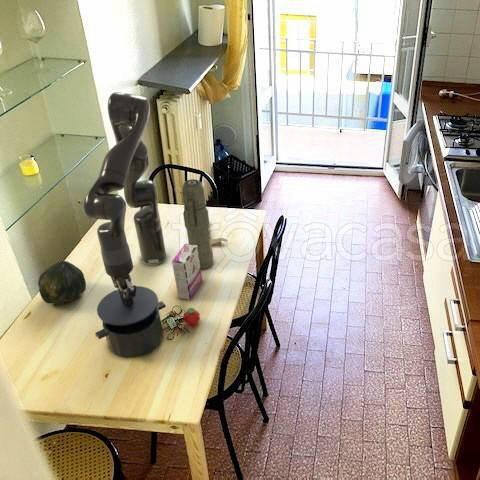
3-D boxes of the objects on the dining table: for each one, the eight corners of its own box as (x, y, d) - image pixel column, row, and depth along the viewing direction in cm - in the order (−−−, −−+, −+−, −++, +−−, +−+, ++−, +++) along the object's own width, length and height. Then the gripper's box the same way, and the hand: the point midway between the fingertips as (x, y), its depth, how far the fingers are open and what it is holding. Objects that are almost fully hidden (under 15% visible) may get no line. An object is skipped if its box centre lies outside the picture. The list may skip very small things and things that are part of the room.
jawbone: (208, 252, 205) (207, 247, 204) (189, 229, 220) (188, 225, 219) (228, 244, 209) (227, 239, 208) (208, 222, 224) (207, 218, 222)
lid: (87, 305, 156) (83, 289, 152) (141, 281, 166) (138, 266, 163) (114, 336, 145) (109, 319, 142) (169, 308, 156) (166, 292, 152)
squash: (22, 292, 172) (40, 269, 165) (51, 268, 185) (69, 246, 177) (56, 319, 175) (75, 298, 168) (83, 294, 188) (101, 273, 180)
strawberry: (182, 323, 169) (180, 310, 166) (195, 316, 172) (193, 303, 169) (190, 331, 166) (188, 317, 163) (203, 324, 169) (201, 310, 166)
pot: (91, 341, 161) (84, 319, 156) (154, 310, 174) (150, 288, 169) (115, 371, 152) (108, 348, 146) (180, 336, 164) (176, 313, 159)
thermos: (188, 273, 192) (176, 190, 173) (191, 255, 202) (181, 175, 183) (212, 272, 193) (203, 189, 174) (214, 254, 203) (206, 174, 184)
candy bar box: (190, 279, 189) (185, 242, 180) (202, 281, 188) (198, 244, 179) (177, 298, 180) (171, 260, 171) (190, 300, 179) (185, 262, 170)
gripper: (140, 262, 143) (150, 309, 153) (118, 241, 152) (128, 287, 161) (115, 273, 139) (126, 320, 149) (93, 251, 147) (105, 297, 157)
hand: (127, 303), depth 155 cm, fingers closed on lid, 2 cm apart
